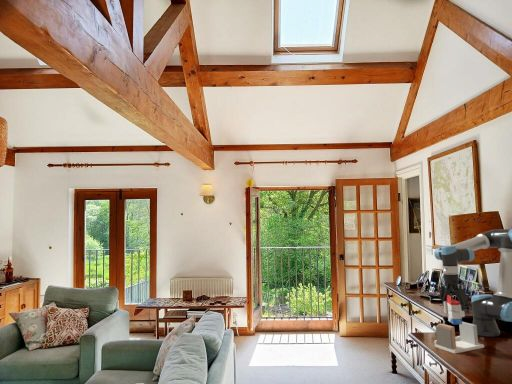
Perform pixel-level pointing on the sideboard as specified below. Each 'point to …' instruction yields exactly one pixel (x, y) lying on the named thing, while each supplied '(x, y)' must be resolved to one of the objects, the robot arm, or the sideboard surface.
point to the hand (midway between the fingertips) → (454, 314)
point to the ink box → (453, 311)
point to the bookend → (468, 333)
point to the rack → (452, 340)
